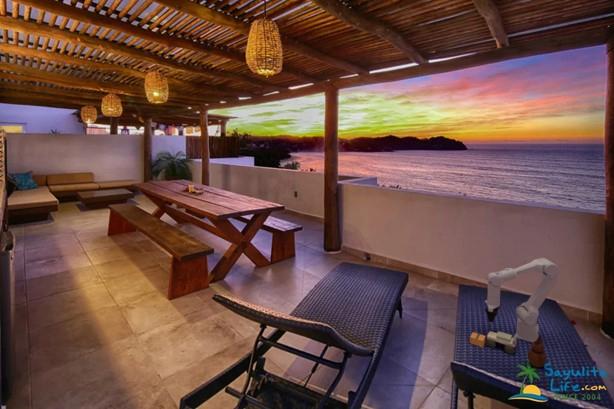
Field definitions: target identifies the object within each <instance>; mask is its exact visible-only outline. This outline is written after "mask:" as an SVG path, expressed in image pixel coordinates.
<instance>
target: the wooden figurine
mask: <svg viewBox="0 0 614 409" xmlns="http://www.w3.org/2000/svg"><path fill="white" fill-rule="evenodd" d="M530 345H531V346H530V347H531V348H530V349H529V350H528V351H527V360H528V362H529V364H530V365H531V366H532V367H535V368H542V367H543V366H545V364H546V360H547V355H546V353H545V346H544V344H543V343H542V334H540V335H539V336H538V339H537V340H536V341H534V342H531V344H530Z"/></svg>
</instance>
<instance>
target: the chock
mask: <svg viewBox="0 0 614 409" xmlns="http://www.w3.org/2000/svg"><path fill="white" fill-rule="evenodd" d="M486 339H487V335H483V334H481V333H477V332H474V331H473V332H472V334H471V335H470V336H469V344H470V343H471V344H470V345H473V344H474V345H473V346H476V345H477V347H480V348H481V349H483V348H484V346H485V345H486Z"/></svg>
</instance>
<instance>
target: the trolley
mask: <svg viewBox="0 0 614 409" xmlns="http://www.w3.org/2000/svg"><path fill="white" fill-rule="evenodd" d="M486 339H487V341H485V345H486V346H487V347H489V348H490V349H495V347H497V346H496V345H497V344H496V342H497V343H500V344H503V345H505V346H504V352H505V353H506V354H508V355H513V354H514V353H515V347H517V340H518V338H517V336H516V335H515V334H514V335H513V334H510V333H506V332H503V331H497V332H494V331H491V330H489V332H488V334H487V335H486Z"/></svg>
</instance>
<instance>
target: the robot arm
mask: <svg viewBox="0 0 614 409" xmlns="http://www.w3.org/2000/svg"><path fill="white" fill-rule="evenodd" d="M531 272H537V273H539V274H540V273H541V274H542V277H543V278H542V280H541V281H540V282H539V283H538V285H537V287H536V288H535V289H534V291H533V293H532V294H531V295H530V296H529V298H528V300H527V301H524V302H523V303H521V305H519V306H517V307H516V308H515V314H516V315H517V323H516V332H515V334H514V335H516V336H517V339H520V340H523V341H526V342H530V343H532V342H534V341H536V340H537V339H538V336H539V337H540V335H539V326H540V325H539V324H538V323H537V321H538V317H539V308H540V307H541V306H542V304H543V303H544V301H545V300H546V299H547V297H548V296H549V294H550V293H551V291H552V290H553V289H554V287H555V285H556V284H557V283H558V281H559V274H560V272H561V270H560V268H559V266H558V265H557V264H556V263H554V262H553V261H551V260H548V259H547V258H546V257H539V258H536V259H534V260H532V261H531V262H530V261H529V263H525V264H523V265H520V266H518V267H516V268H512V267H509V268H508V267H506V268H504V269H502V270H500V271H496V272H489V273H488V275H487V276H486V280H487V281H488V282H487V298H486V299H485V300H484V303H485V304H486V305H487V307H485V309H484V311H485V313H486V315H487V320H488V322H490V323H494V322H495V317H497V315H498V311H499V309H500V308H501V305H502V303H501V302H500V299H501V286H502V285H503V283H506V282H509V281H513V280H515V279H517V277H518V276H520V275H524V274H527V273H531Z"/></svg>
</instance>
